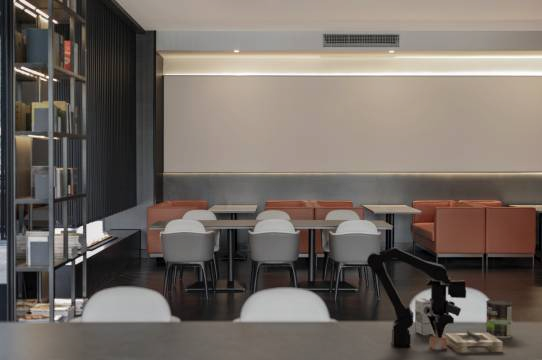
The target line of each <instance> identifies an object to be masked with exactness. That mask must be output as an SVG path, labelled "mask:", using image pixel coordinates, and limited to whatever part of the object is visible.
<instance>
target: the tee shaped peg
mask: <svg viewBox="0 0 542 360" xmlns="http://www.w3.org/2000/svg"><path fill="white" fill-rule="evenodd" d="M439 341H440V342H441V343H440V344H441V346H442V347H443V348H442V347H441V348H442V349H444V350H447V349H448V345H447V341H446V337H445V336H442V338H439V337H438V335H437V331H436V335H435V336H430V337H429V348H430V347H431V348H432V349H431V348H430V349H431V350H435V349H436V342H439Z"/></svg>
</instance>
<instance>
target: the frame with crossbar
mask: <svg viewBox="0 0 542 360" xmlns="http://www.w3.org/2000/svg"><path fill="white" fill-rule="evenodd" d="M444 337H446V341H447V347H449V348H450V347H451V348H450V349H452V350H453V351H454V352H455V353H462V354H464V353H468V347H484V348H486V349H488V350H489V351H490V352H492V353H503V349H504V348H503V346H504V342H503V341H502V340H500V338H496V337H494V336H493V335H491V334H490V333H486V332H473V331H471V330H466V332H455V333H454V332H448V333H447V332H445V333H444ZM466 339H467V340H466ZM468 339H469V340H468ZM471 339H473V340H471Z"/></svg>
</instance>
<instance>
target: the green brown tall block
mask: <svg viewBox="0 0 542 360" xmlns="http://www.w3.org/2000/svg"><path fill="white" fill-rule="evenodd" d="M485 302H486V324H485V326H486V327H485V328H486V329H485V333H490V334H491V335H493V336H494V337H496V338H497V339H507V338H508V339H509V338H511V337H512V316H513V315H512V313H513V312H512V311H513V309H512V307H513V303H512V302H511V301H508V300H505V299H503V300H502V299H488V300H486V301H485Z"/></svg>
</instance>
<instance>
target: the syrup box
mask: <svg viewBox="0 0 542 360" xmlns="http://www.w3.org/2000/svg"><path fill="white" fill-rule="evenodd" d="M414 301H415V302H414V307H415V308H414V309H415V310H414V312H415V313H414V314H415V315H414V317H415V318H414V319H415V320H414V321H415V323H414V325H415V326H414V329H415V330H414V332H415V333H416V334H418V333H419V335H421V336H430V335H429V334H432V335H434V331H433V329H432V326H431V324H430V322H429V319H428V317H427V316H429V313H428V314H425V313H424V308H425V307H426V306H431V301H430V298H429V299H428V298H417V299H415V300H414Z"/></svg>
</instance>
